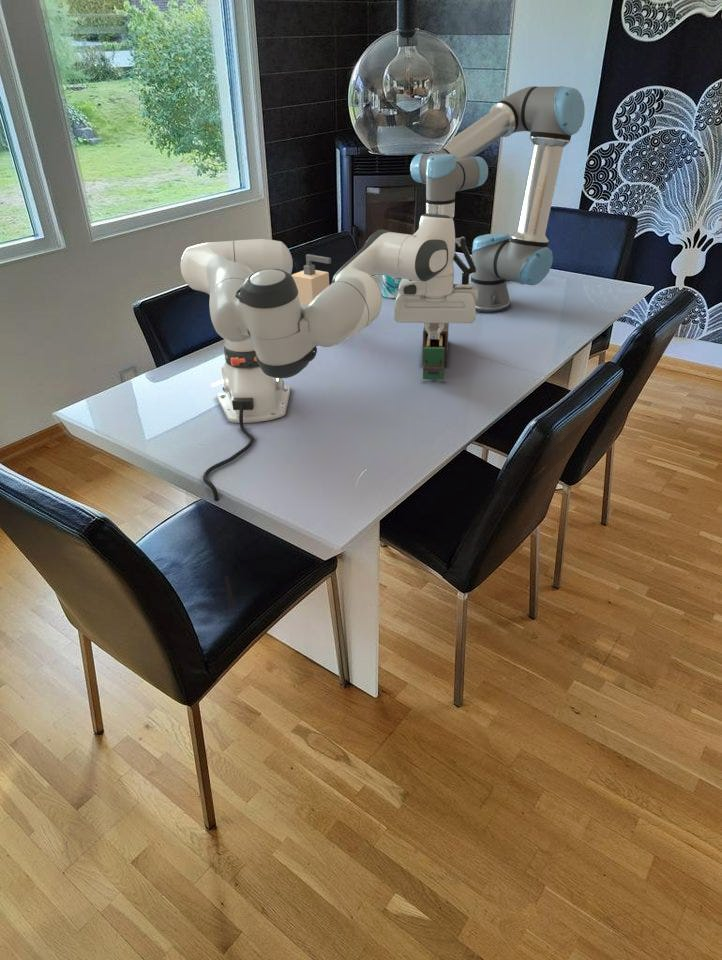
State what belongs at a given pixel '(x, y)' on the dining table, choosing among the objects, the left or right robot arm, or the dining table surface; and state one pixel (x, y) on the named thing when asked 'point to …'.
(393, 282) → the mug
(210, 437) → the dining table surface
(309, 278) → the soap dispenser
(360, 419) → the dining table surface
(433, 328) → the cabinet
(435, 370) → the drawer
